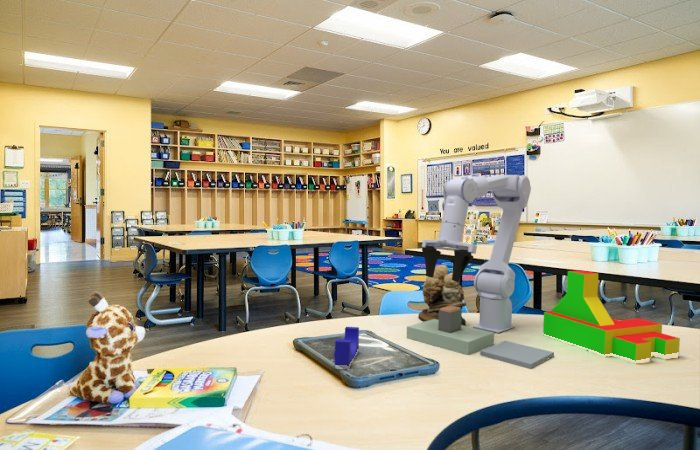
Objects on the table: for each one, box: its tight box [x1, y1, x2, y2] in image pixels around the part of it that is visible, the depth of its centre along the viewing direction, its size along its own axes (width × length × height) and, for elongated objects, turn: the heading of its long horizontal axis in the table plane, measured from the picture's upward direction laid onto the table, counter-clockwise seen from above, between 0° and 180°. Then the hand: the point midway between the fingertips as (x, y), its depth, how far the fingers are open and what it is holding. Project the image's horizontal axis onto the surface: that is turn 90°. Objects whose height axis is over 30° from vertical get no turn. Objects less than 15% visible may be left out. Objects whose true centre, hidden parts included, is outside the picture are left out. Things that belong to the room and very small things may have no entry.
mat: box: [479, 340, 555, 369], centre depth 108 cm, size 12×12×1 cm
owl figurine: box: [418, 264, 467, 326], centre depth 139 cm, size 18×12×17 cm, turn 27°
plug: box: [438, 306, 463, 333], centre depth 119 cm, size 5×4×9 cm
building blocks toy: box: [542, 269, 681, 361], centre depth 118 cm, size 19×25×18 cm
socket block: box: [406, 319, 495, 356], centre depth 119 cm, size 12×18×3 cm, turn 45°
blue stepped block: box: [333, 326, 360, 366], centre depth 104 cm, size 12×4×6 cm, turn 169°
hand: (441, 278), depth 115 cm, fingers open, 7 cm apart
